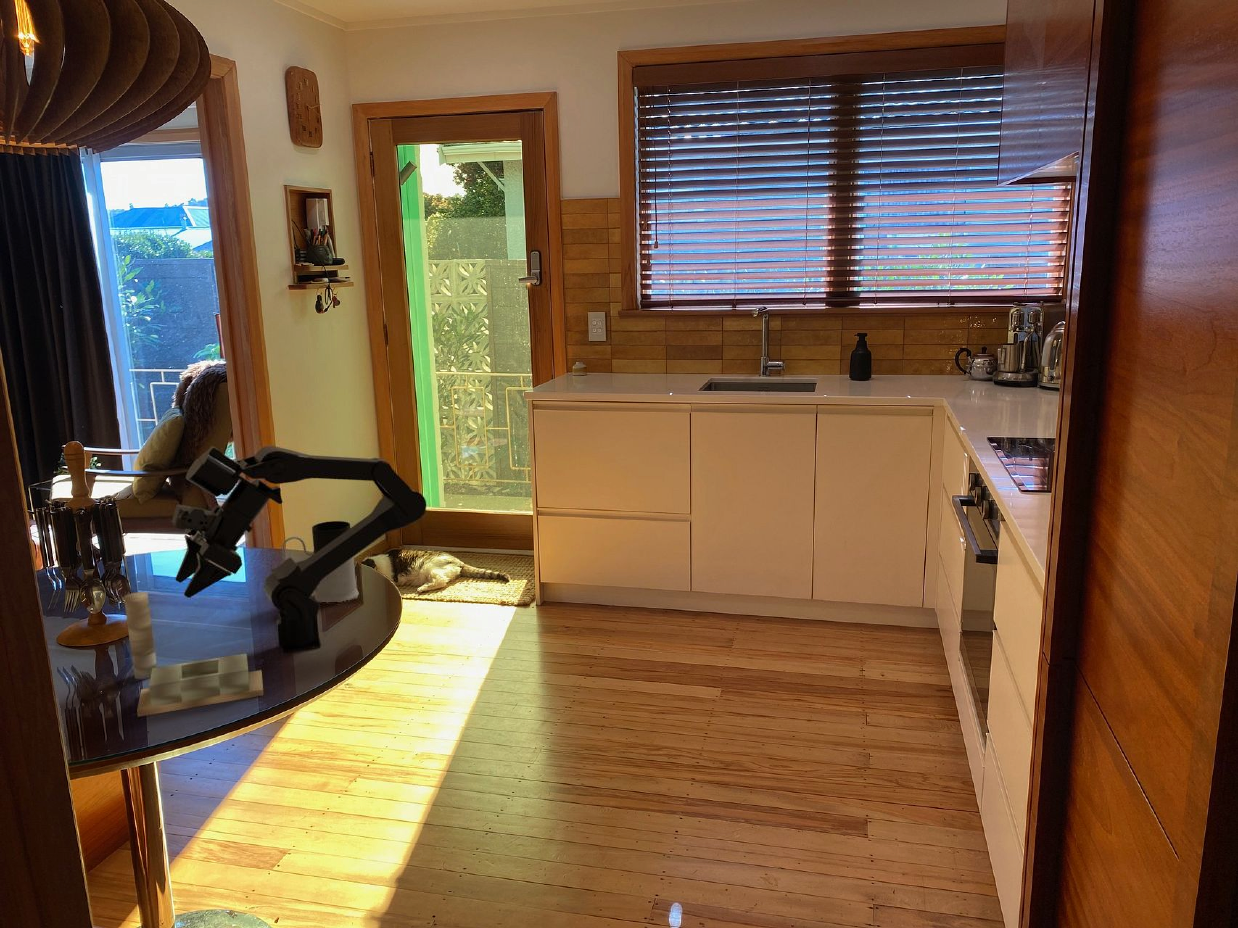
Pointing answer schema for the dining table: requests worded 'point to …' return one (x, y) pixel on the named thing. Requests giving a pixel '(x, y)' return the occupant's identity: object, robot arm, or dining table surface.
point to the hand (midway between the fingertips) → (181, 588)
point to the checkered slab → (199, 684)
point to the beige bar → (140, 634)
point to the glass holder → (340, 580)
